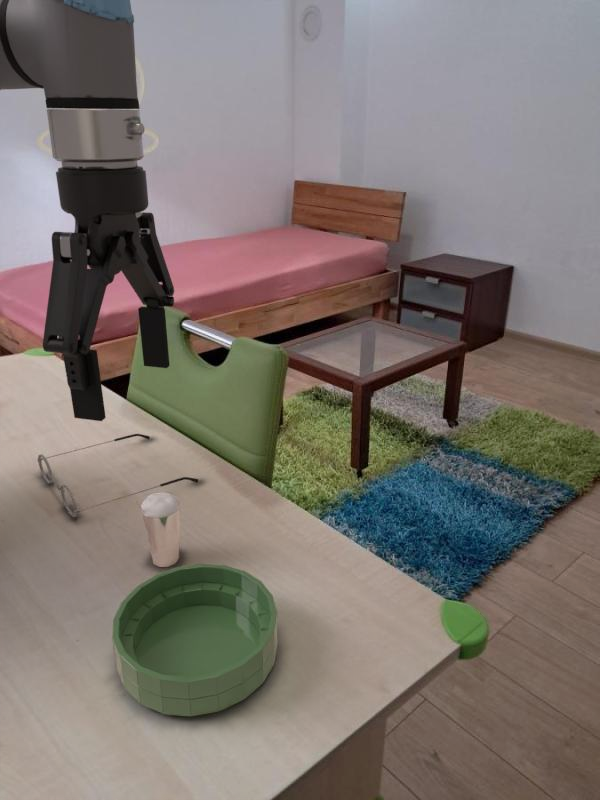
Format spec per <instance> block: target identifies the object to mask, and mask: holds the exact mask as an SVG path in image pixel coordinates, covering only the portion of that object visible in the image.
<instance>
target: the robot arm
mask: <svg viewBox="0 0 600 800" xmlns="http://www.w3.org/2000/svg"><path fill="white" fill-rule="evenodd" d="M134 23H135V16H134V14H133V11H132V4H131V0H0V91H1V90H24V89H25V90H27V89H28V90H29V89H43V92H44V97H45V106H46V113H47V114H46V115H47V121H48V130H49V137H50V146H51V153H52V154H51V155H52V158H53V159H54V160H56V161H57V162H60V163H61V167H58V168H57V171H55V176H56V177H55V178H56V183H57V190H58V191H57V192H58V198H59V203H60V205H59V206H60V208H61V210H62V211H63V212H65V213H66V214H69V215H72V216H73V218H74V232H73V231H72V232H71V231H70V232H69V231H53V233H52V234H51V247H52V248H51V249H52V267H51V270H52V271H51V276H50V284H49V291H48V300H47V307H46V317H45V323H44V330H43V338H42V349H43V351H44V352H45V353H55V354H61V355H62V357H63V361H64V369H65V375H66V383H67V385H68V388H69V391H70V397H71V404H72V410H73V417H74V419H80V420H89V421H96V422H97V421H98V422H103V420H105V419H106V417H107V416H106V410H105V402H104V396H103V395H104V393H103V388H102V387H103V386H102V379H101V372H100V364H99V357H98V350H97V349H91V346H92V342H93V338H94V334H95V330H96V328H97V323H98V321H99V316H100V312H101V309H102V304H103V302H104V298H105V294H106V291H107V286H109V285H110V284H112V283H113V282H114V280H115V276H117V275H118V274H120V272H121V273H122V275H124V277H125V279H126V280H127V282H128V283H129V285H130V286H131V288H132V289H133V291H134V293H135V294H136V296H137V297H138V299H139V300H140V302H141V304H143V306H140V307H138V309H137V311H138V321H139V330H140V341H141V350H142V361H143V366H144V367H150V368H160V369H161V368H162V369H168V368H169V367H170V353H169V342H168V331H167V329H168V328H167V319H166V318H167V317H166V307H169V308H172V307H174V306H175V298H174V294H175V287H174V284H173V280H172V278H171V274H170V272H169V269H168V266H167V262H166V259H165V257H164V254H163V251H162V247H161V245H160V241H159V239H158V236H157V230H156V223H155V217H154V214H153V213H152V212H146V210H147V209H148V207H149V194H148V193H149V192H148V183H147V172H146V170H145V169H144V167H143V166H139V165H138V161H141V160H142V159H143V158H144V156H145V155H144V145H143V134H144V133H145V125H144V123H142V122H141V113H140V101H139V98H138V84H137V83H138V82H137V66H136V65H137V63H136V47H135V46H136V45H135V29H134V28H135V27H134ZM144 211H145V212H144ZM88 267H89V268H88Z"/></svg>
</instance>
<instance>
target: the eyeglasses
mask: <svg viewBox="0 0 600 800" xmlns="http://www.w3.org/2000/svg"><path fill="white" fill-rule="evenodd" d="M133 437H140V438H144V439H146V440H150V435H146V434H141V433H134V434H133V433H132V434H129V435H126V436H121V437H117V438H114V439H113V440H109V441H105V442H100V443H98V444H97V443H96V444H94V445H93V444H92V445H90V446H86V447H81V448H78V449H74V450H70V451H66V452H62V453H58V454H54V455H51V456H47V457H45V456H44V454H39V455H38V457H37V463H38V466H39V470H40V473H41V475H42V477H43V479H44V480H45V481H46V483H48V484H52V483H53V484H54V486H55V487H56V489H57V490H58V491H60V497H61V499H62V502H63V504H64V507H65V510H66V511H67V513H68V514H69V515H70V516H71V517H72V518H76V517H77V516H78V515H79V514H80V513H82V512H83V511H86V510H88V509H92V508H96V507H98V506H101V505H104V504H108V503H111V502H114V501H118V500H121V499H123V498H126V497H127V498H128V497H130V496H134V495H136V494H139V493H144V492H145V491H149V490H153V489H155V488H159V487H165V486H168V485H171V484H175V483H178V482H181V481H191V482H193V483H199V479H198V478H195V477H188V476H183V477H180V478H179V477H178V478H176V479H173V480H170V481H169V480H168V481H166V482H163V483H160V485H155V486H153V487H150V488H146V489H143V490H140V491H137V492H134V493H131V494H127V495H124V496H121V497H118V498H114V499H112V500H108V501H105V502H101V503H99V504H96V505H93V506H89V507H86V508H82V509H79V508H78V507H77V502H76V499H75V497H74V495H73V492H72V491H71V489H70V488H69V487H68V486H67V485H66V484H65V483H64V484H61V485H60V484H59V483H58V481H57V480H56V478H55V477H54V475H53V471H52V468H51V466H50V463H49V461H48V460H47V459H49V458H53V457H58V456H61V455H66V454H70V453H72V452H77V451H80V450H84V449H89V448H92V447H95V446H100V445H103V444H107V443H112V442H119V441H122V440H125V439H126V440H127V439H130V438H133ZM42 461H43V462H44V463H45V466H46V468H47V471H48V472H46V473H45V470H44V468H43V462H42ZM47 476H48V477H47ZM64 489H65V490H64ZM65 492H67V493H68V495H69V497H70V500H71V503H72V507H73V511H72V509H71V508H70V506H69V504H68V502H67V499H66V495H65Z"/></svg>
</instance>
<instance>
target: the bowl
mask: <svg viewBox="0 0 600 800" xmlns="http://www.w3.org/2000/svg"><path fill="white" fill-rule="evenodd" d="M113 617H114V618H113V621H112V635H111V636H112V644H113V651H114V657H115V658H114V659H115V665H116V666H115V667H116V671H117V674H118V676H119V679H120V682H121V684H122V686H123V689H124V690H125V692H127V693H128V694H129V695H130V696H131V697H132V698H133V699H134V700H136V701H137V703H139V704H140V705H141V706H143V707H146V708H148V709H151V710H153V711H155V712H158V713H160V714H163V715H168V716H179V717H196V716H202V715H207V714H212V713H217V712H221V711H223V710H225V709H227V708H230V707H232V706H234V705H235V704H238V703H240V702H242V701H244V700H245V699H247V698H248V697H249V696H250V695H251V694H252V693H253V692H255V691H256V690H257V689H258V688H259V687H260V686H261V685H263V683H265V681H266V679H267V677H268V675H269V674H270V672H271V670H272V668H273V667H274V665H275V663H276V657H277V650H278V610H277V607H276V603H275V599H274V596H273V594H272V593H271V592H270V590H269V589H268V588H267V586H265V584H264V583H263V582H262V580H260V579H258V578H257V577H255V576H254V575H252V574H250V573H249V572H247V571H245V570H243V569H242V570H241V569H239V568H237V567H232V566H229V565H227V564H216V563H215V564H213V563H197V564H188V565H182V566H177V567H174V568H171V569H168V570H165V571H161V572H159V573H156V574H154V575H153V576H152V577H150V578H148V579H147V580H145V581H143V582H141V583H140V584H138V585H137V586H136V587H135V588H134V589H133V590H132V591H131V592H130V593H129V594H128V595H127V596H126V597H125V598H124V599H123V600H122V601H121V603H120V605H119V607H118V609H117V611H116V613H115V615H114V616H113Z"/></svg>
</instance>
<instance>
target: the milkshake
mask: <svg viewBox="0 0 600 800" xmlns="http://www.w3.org/2000/svg"><path fill="white" fill-rule="evenodd" d="M134 501H135V503H136V504H137V505H138V507H139V509H140V510H141V513H142V518H143V522H144V526H145V529H146V535H147V539H148V544H149V545H148V546H149V549H150V555H151V559H152V563H153V565H154V566H156V567H159V568H169V567H172V566H174V565H176V564H177V562H178V560H179V559H180V511H181V510H180V509H181V503H180V500H179V499H178V497H177V496H175V495H173V494H172V493H168V492H163V491H160V492H155V493H150V494H149V495H148V496H147V497H146V498H145V499H144V501H143V502H142V503H141V505H140V504H139V502H138V501H137V499H134Z"/></svg>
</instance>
